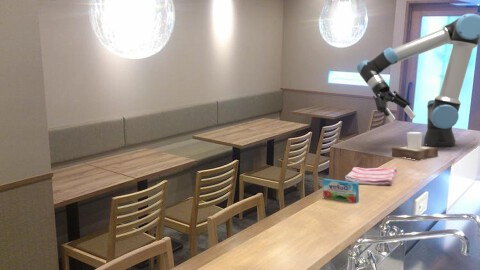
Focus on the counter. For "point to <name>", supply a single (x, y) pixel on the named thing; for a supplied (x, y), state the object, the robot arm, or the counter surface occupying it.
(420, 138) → the white cup
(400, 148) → the block
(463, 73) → the robot arm
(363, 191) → the counter surface
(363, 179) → the dish towel
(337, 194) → the blue flat box
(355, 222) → the counter surface
